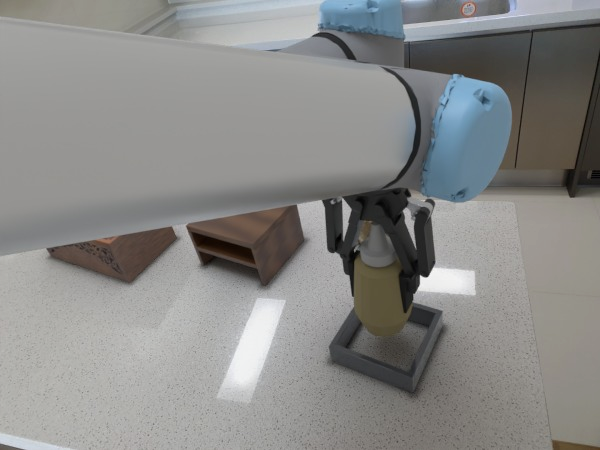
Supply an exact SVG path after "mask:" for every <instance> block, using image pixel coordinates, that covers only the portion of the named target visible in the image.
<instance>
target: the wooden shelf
mask: <svg viewBox="0 0 600 450" xmlns="http://www.w3.org/2000/svg"><path fill="white" fill-rule="evenodd" d="M185 227H186V230H187V233H188V235H189V237H190V240H191V242H192V245H193V248H194V250H195V253H196V255H197V258H198V260H199V262H200V265H201V266H205V265H207V264H208V263H209V262H210V261H211V260H212V259H213V258H214V257H217V258H220V259H224V260H227V261H230V262H233V263H237V264H240V265H243V266H246V267H250V268H253V269H256V270H257V272H258V276H259V279H260V282H261V285H262V286H265V287H266V286H267V285H268V284H269V283H270V282H271V280H272V279H273V278H274V277H275V276H276V275H277V273H278V272H279V270H281V268H282V267H283V266H284V265H285V264H286V263H287V261H288V260H289V259H290V258H291V256H292V255H293V254H294V253H295V252H296V251H297V250H298V248H299V247H300V246H301V245H302V244H303V242H304V241H305V236H304V232H303V226H302V222H301V217H300V212H299V208H298V204H296V205H291V206H285V207H279V208H274V209H268V210H262V211H256V212H251V213H245V214H239V215H234V216H228V217H222V218H216V219H211V220H205V221H199V222H194V223H188V224H185Z"/></svg>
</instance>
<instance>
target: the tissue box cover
mask: <svg viewBox="0 0 600 450" xmlns="http://www.w3.org/2000/svg"><path fill="white" fill-rule="evenodd" d="M173 227H174V226H171V227H165V228H159V229H154V230H148V231H142V232H137V233H131V234H125V235H119V236H114V237H108V238H102V239H97V240H91V241H85V242H79V243H74V244H68V245H62V246H57V247H51V248H45V250H46V251H47V252H48V254H49V255H50V257H52V258H55V259H58V260H61V261H64V262H67V263H70V264H73V265H76V266H78V267H82V268H85V269H88V270H91V271H94V272H97V273H100V274H103V275H106V276H109V277H112V278H115V279H118V280H121V281H124V282H127V283H132V281H134V280H135V279H136V278H137V277H138V276H139V275H140V274H141V273H142V272H143V271H145V269H146V268H148V267H149V265H151V263H152V262H153V261H155V260H156V259H157V258H158V257H159V256H160V255H161V254H162V253H163V252H164V251H166V249H168V247H169V246H171V245H172V244H173V243H174V242H175V241H176V240H177V239H178V237H177V234H176V232H175V230H174V228H173Z"/></svg>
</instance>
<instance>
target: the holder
mask: <svg viewBox="0 0 600 450" xmlns="http://www.w3.org/2000/svg"><path fill="white" fill-rule="evenodd" d="M412 304H413V305H412V310H411V314H410V316H409V318H408V320H407V321H410V322H414V323H418V324H421V325H423V326H427V327H428V329H427V332H426V334H425V335H424V338H423V339H422V342H421V344H420V346H419V348H418V351H417V353H416V354H415V357H414V359H413V361H412V363H411V366H410V368H409V370H406V369H403V368H401V367H398V366H396V365H392V364H390V363H387V362H384V361H382V360H379V359H377V358H373V357H372V356H369V355H365V354H363V353H360V352H359V351H358V352H357V351H355V350H352V349H350V348H347V345H348V344H349V342H350V341H351V339H352V337H353V336H354V335H355V332H356V331H357V329H358V327H359V326H360V324H361V323H362V322H361V321H360V319H359V318H358V316H357V315H356V313H355V309H354V306H353V307H352V308H351V310H350V312H349V313H348V314H347V317H346V318H345V319H344V321H343V323H342V325H341V326H340V328H339V329H338V331H337V333H336V334H335V336H334V337H333V339H332V340H331V342H330V343H329V345H328V350H329V354H330V359H331V362H332V363H336V364H339V365H340V366H343V367H346V368H348V369H350V370H353V371H356V372H359V373H361V374H363V375H366V376H369V377H370V378H373V379H376V380H379V381H381V382H383V383H386V384H389V385H391V386H394V387H396V388H398V389H401V390H403V391H406V392H408V393H411V394H414V392H415V389H416V388H417V385H418V383H419V381H420V378H421V376H422V374H423V372H424V369H425V367H426V364H427V362H428V360H429V358H430V356H431V353H432V351H433V349H434V347H435V344H436V342H437V340H438V337H439V335H440V333H441V330H442V328H443V319H444V318H443V317H444V311H443V310H441V309H439V308H438V309H437V308H434V307H430V306H427V305H424V304H420V303H417V302H415V301H413V302H412Z"/></svg>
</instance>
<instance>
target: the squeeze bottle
mask: <svg viewBox="0 0 600 450" xmlns="http://www.w3.org/2000/svg"><path fill="white" fill-rule="evenodd" d="M359 250H360V253H359V254H358V255H357V256H356V259H355V261H354V297H353V307H354V309H355V313H356V315H357V316H358V318H359V319H360V321H361V322H360V323H361V324H362V325H363V327H364V328H365V330H366V331H367V332H368V333H369V334H371V335H373V336H375V337H379V338H389V337H390V338H391V337H394V336H396V335H397V334H399V333H400V332H401V331H402V330H403V329H404V327H405V325H406V323H407V322H408V321H409V320H408V318H409V316H410V314H411V310H412V305H413V304H411V305H410V307H409V309H408V311H407V313H404V311H403V305H402V299H401V293H400V283H399V276H400V274H401V272H402V271H403V268H402V265H401V263H400V261H399V258H398V256H397V254H396V251H395V249H394V247H393V244H392V242H391V240H390V237H388V236H386V234H385V232H384V230H383V228H382V225H381V224H378V223H375V222H373V221H372V224H371V229H370V234H369V237H368V238H366V239H365V240H363V241H362V242H361V245H360V244H359Z"/></svg>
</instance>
